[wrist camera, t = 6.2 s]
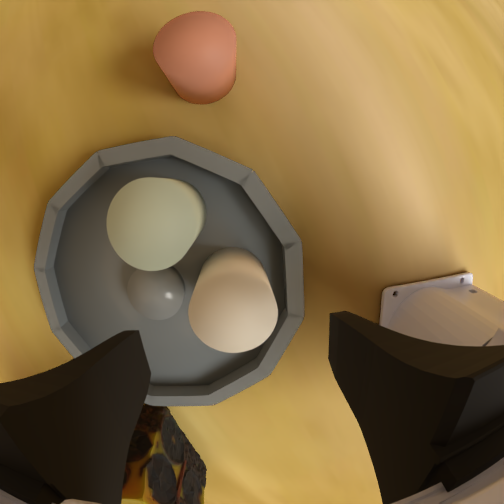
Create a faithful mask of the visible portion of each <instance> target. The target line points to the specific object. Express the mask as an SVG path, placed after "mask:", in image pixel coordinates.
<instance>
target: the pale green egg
mask: <svg viewBox="0 0 504 504" xmlns="http://www.w3.org/2000/svg"><path fill="white" fill-rule="evenodd" d="M206 214H207V213H206V205H205V201H204V199H203V197H202V195H201V193H200V192H199V191H198V190H197V189H196V188H195V187H194V186H193V185H191V184H190V183H188V182H186V181H183V180H179V179H169V178H155V177H146V178H140V179H136V180H134V181H131V182H130V183H128V184H126V185H125V186H124V187H122V188H121V189H120V190H119V191H118V192H117V194H116V195H115V196H114V198H113V200H112V202H111V204H110V206H109V209H108V213H107V233H108V237H109V240H110V243H111V245H112V247H113V248H114V250H115V252H116V253H117V254H118V255H119V257H120V258H121V259H123V260H124V261H125V262H126V263H128V264H129V265H131V266H133V267H135V268H137V269H141V270H145V271H158V270H163V269H166V268H168V267H171V266H172V265H174V264H176V263H177V262H178V261H179V260H181V259H182V257H183V256H184V255H185V254H186V253H187V251H188V250H189V248H190V247H191V245H192V244H193V242H194V241H195V240H196V238H197V237H198V235H199V234H200V232H201V231H202V229H203V227H204V225H205V221H206Z"/></svg>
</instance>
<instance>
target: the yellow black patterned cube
mask: <svg viewBox="0 0 504 504" xmlns="http://www.w3.org/2000/svg"><path fill="white" fill-rule="evenodd" d="M206 471H207V469H206V466H205V464H204V462H203V461H202V460H201V459H200V455H199V454H198V453H197V452H196V451H195V449H194V448H193V446H192V444H190V442H189V440H188V439H187V438H186V436H185V434H184V433H183V432H182V431H181V429H180V428H179V426H178V425H177V423H176V421H175V419H174V418H173V416H172V415H171V414H170V410H169V409H168V408H167V407H165V406H152V405H146V406H143V407H142V410H141V413H140V415H139V418H138V421H137V424H136V426H135V429H134V432H133V435H132V438H131V441H130V445H129V449H128V454H127V459H126V465H125V472H124V479H123V488H122V501H121V504H204V489H205V485H206Z"/></svg>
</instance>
